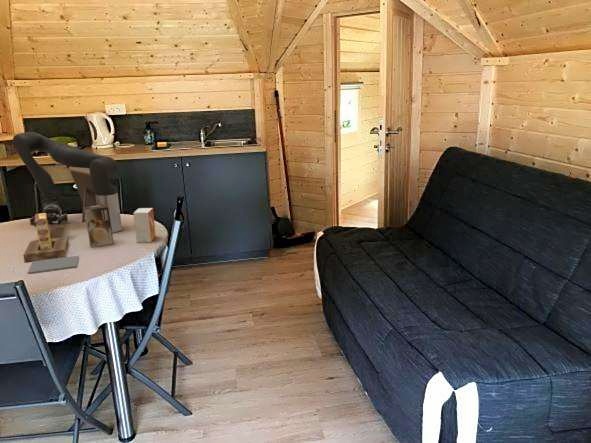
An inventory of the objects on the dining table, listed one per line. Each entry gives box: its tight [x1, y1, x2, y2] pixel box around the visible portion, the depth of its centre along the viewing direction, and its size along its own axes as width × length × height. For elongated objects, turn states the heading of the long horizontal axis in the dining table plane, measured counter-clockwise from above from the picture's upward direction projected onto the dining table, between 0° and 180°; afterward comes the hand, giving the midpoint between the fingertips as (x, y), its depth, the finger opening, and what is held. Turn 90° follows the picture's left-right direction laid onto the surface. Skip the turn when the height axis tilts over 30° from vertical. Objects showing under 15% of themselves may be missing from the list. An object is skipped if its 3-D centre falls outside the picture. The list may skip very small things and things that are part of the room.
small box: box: [132, 207, 157, 243], centre depth 203 cm, size 8×6×13 cm
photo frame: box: [69, 167, 97, 223], centre depth 239 cm, size 15×22×25 cm
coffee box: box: [84, 204, 115, 248], centre depth 198 cm, size 9×6×16 cm
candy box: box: [34, 212, 52, 250], centre depth 189 cm, size 9×4×15 cm, turn 28°
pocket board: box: [23, 236, 70, 263], centre depth 191 cm, size 14×18×3 cm
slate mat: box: [27, 255, 80, 275], centre depth 177 cm, size 16×12×1 cm
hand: (47, 223), depth 199 cm, fingers open, 8 cm apart
